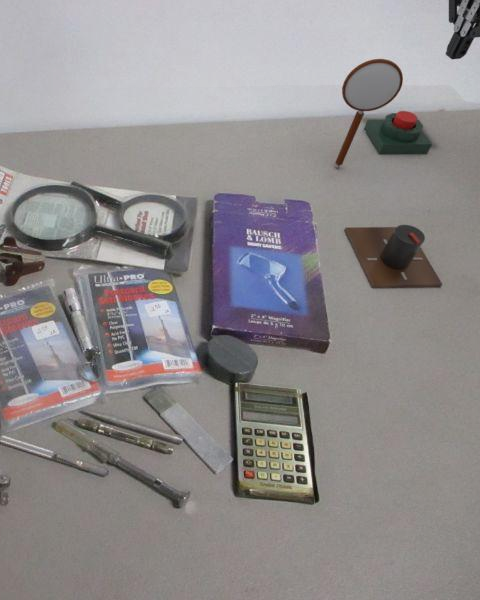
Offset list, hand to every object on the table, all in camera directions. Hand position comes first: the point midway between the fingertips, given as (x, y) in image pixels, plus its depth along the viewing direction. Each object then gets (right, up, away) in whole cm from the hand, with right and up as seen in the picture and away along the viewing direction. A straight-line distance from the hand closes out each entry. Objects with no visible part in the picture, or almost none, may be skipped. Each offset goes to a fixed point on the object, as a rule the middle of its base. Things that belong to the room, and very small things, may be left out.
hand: (453, 56), depth 95 cm
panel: (-14, -34, -6) cm, 37 cm away
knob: (-14, -33, -9) cm, 37 cm away
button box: (-1, -10, +15) cm, 18 cm away
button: (-1, -7, +13) cm, 15 cm away
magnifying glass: (-15, -16, +10) cm, 24 cm away
